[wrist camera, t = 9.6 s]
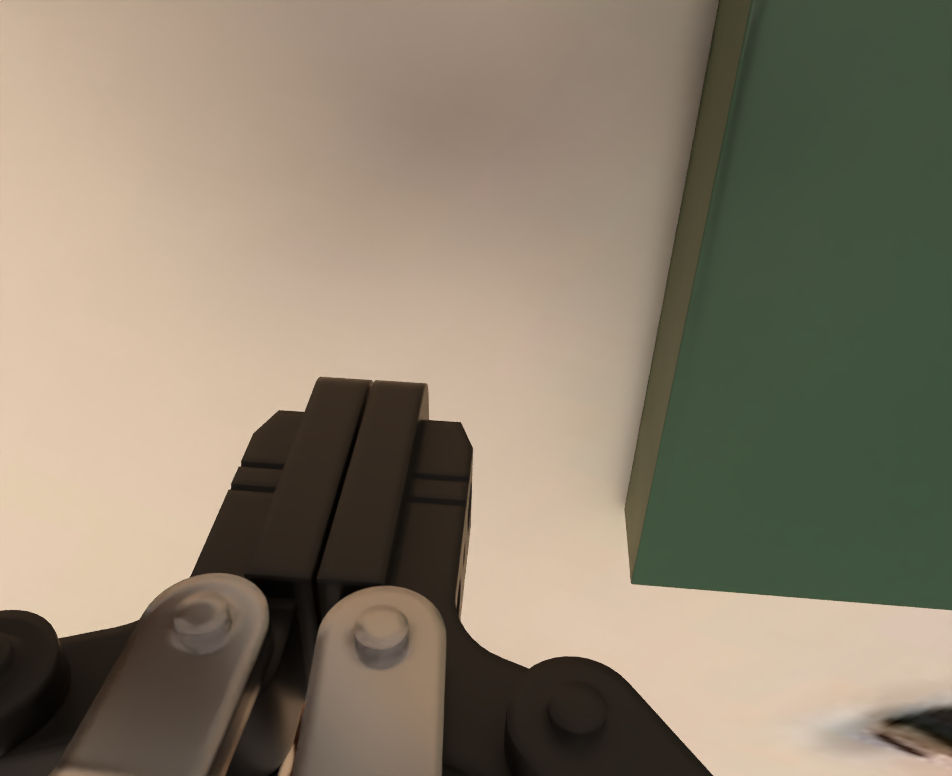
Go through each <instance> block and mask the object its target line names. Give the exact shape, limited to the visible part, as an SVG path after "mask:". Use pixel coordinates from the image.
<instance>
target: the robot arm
mask: <svg viewBox="0 0 952 776" xmlns="http://www.w3.org/2000/svg"><path fill="white" fill-rule="evenodd" d="M472 465H473V447H472V445H471V443H470V441H469V439H468V437H467V435H466V432H465V430H464V428H463V426H462V424H461V422H448V421H433V420H429V397H428V385H427V384H426V383H411V382H396V381H380V380H375V381H374V383H373V381H372V380H362V379H346V378H331V377H319V378H318V379H317V381H316V383H315V386H314V389H313V391H312V394H311V397H310V399H309V402H308V404H307V407H306V410H305V412H296V411H281V410H279V411H278V412H277V413H275V414H274V415H273V416H272V417H271V418H270V419H269V420H268V421H267V422H266V423H264V424H263V425H262V426H261V427H260V428H259V429H258V430H257V431H256V432H255V433H253V436H252V438H251V440H250V442H249V445H248V447H247V449H246V452H245V454H244V456H243V458H242V461H241V467H238V470H237V472H236V474H235V477H234V479H233V481H232V483H231V490H228V492H227V495H226V497H225V499H224V502H223V504H222V506H221V508H220V511H219V513H218V515H217V517H216V520H215V522H214V524H213V527H212V529H211V531H210V533H209V536H208V538H207V540H206V543H205V545H204V547H203V549H202V552H201V554H200V556H199V558H198V561H197V563H196V565H195V568H194V570H193V572H192V574H191V576H190V578H187V579H185V580H182V581H180V582H178V583H176V584H174V585H172V586H171V587H169V588H168V589H166V590H165V591H163V592H162V593H161V594H160V595H158V596H157V597H156V598H155V599H154V600H153V601H152V602H151V604H150V605H149V606H148V607H147V609H146V610H145V612H144V613H143V615H142V617H141V618H140V620H138V621H135V622H132V623H130V624H127V625H123V626H119V627H115V628H110V629H104V630H99V631H94V632H89V633H84V634H79V635H74V636H69V637H64V638H59V639H58V637H57V634H56V632H55V630H54V629H53V627H52V625H51V624H50V623H49V622H48V621H47V620H46V619H45V618H43V617H41V616H39V615H37V614H34V613H31V612H28V611H21V610H4V611H0V776H290V774H291V771H292V768H293V764H294V768H293V773H292V776H713V775H712V774H711V773H710V772H709V771H708V770H707V768H706V767H705V766H704V765H703V764H702V763H701V762H700V761H699V760H698V759H697V757H696V756H695V755H694V754H693V753H692V752H691V751H690V750H689V749H688V748H687V746H686V745H685V744H684V743H683V742H682V741H681V740H680V739H679V738H678V737H677V735H676V734H675V733H674V732H673V731H672V730H671V729H670V728H669V727H668V726H667V724H666V723H665V722H664V721H663V720H662V719H661V718H660V717H659V716H658V715H657V713H656V712H655V711H654V710H653V709H652V708H651V707H650V706H649V705H648V704H647V702H646V701H645V700H644V699H643V698H642V697H641V696H640V695H639V694H638V693H637V691H636V690H635V689H634V688H633V687H632V686H631V685H630V684H629V683H628V682H627V681H626V680H625V679H624V678H623V677H622V676H621V675H620V674H618V673H617V672H615V671H614V670H613V669H611V668H610V667H608V666H606V665H604V664H602V663H599V662H596V661H593V660H590V659H587V658H581V657H568V656H565V657H557V658H552V659H548V660H545V661H542V662H540V663H538V664H536V665H534V666H533V667H531V668H530V669H528V668H526V667H523V666H521V665H518V664H516V663H513V662H511V661H508V660H506V659H503V658H501V657H499V656H497V655H495V654H493V653H491V652H489V651H488V650H486V649H484V648H483V647H481V646H480V645H479V644H478V643H477V642H476V641H475V640H473V639H472V637H471V636H470V635H469V634H468V633H467V631H466V630H465V628H464V627H463V625H462V623H461V621H460V618H461V609H462V600H463V591H464V580H465V573H466V564H467V555H468V546H469V537H470V528H471V499H472ZM304 702H305V706H304V712H303V717H302V723H301V728H300V734H299V740H298V745H297V751H296V756H295V745H294V739H295V735H296V731H297V727H298V724H299V720H300V716H301V712H302V708H303V705H304ZM294 760H295V762H294Z"/></svg>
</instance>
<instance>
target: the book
mask: <svg viewBox="0 0 952 776" xmlns="http://www.w3.org/2000/svg"><path fill="white" fill-rule="evenodd" d="M625 519H626V530H627V542H628V553H629V565H630V578H631V584H637V585H649V586H662V587H674V588H686V589H698V590H711V591H723V592H735V593H747V594H760V595H772V596H784V597H797V598H809V599H821V600H833V601H846V602H858V603H870V604H882V605H895V606H907V607H919V608H931V609H944V610H952V0H719V5H718V10H717V16H716V21H715V26H714V32H713V37H712V42H711V48H710V53H709V59H708V64H707V69H706V75H705V80H704V85H703V91H702V96H701V102H700V107H699V112H698V118H697V123H696V128H695V134H694V139H693V145H692V150H691V155H690V161H689V166H688V172H687V177H686V182H685V188H684V193H683V198H682V204H681V209H680V215H679V220H678V225H677V231H676V236H675V241H674V247H673V252H672V258H671V263H670V268H669V274H668V279H667V284H666V290H665V295H664V301H663V306H662V311H661V317H660V322H659V327H658V333H657V338H656V344H655V349H654V354H653V360H652V365H651V370H650V376H649V381H648V387H647V392H646V397H645V403H644V408H643V413H642V419H641V424H640V430H639V435H638V440H637V446H636V451H635V456H634V462H633V467H632V473H631V478H630V483H629V489H628V494H627V499H626V505H625Z"/></svg>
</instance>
